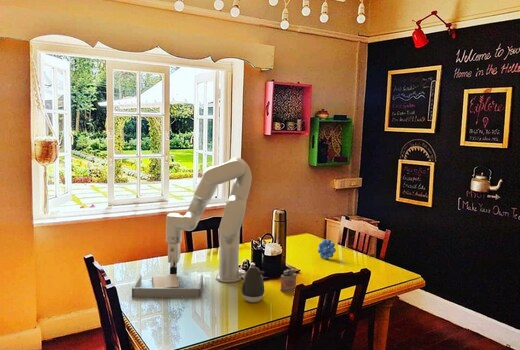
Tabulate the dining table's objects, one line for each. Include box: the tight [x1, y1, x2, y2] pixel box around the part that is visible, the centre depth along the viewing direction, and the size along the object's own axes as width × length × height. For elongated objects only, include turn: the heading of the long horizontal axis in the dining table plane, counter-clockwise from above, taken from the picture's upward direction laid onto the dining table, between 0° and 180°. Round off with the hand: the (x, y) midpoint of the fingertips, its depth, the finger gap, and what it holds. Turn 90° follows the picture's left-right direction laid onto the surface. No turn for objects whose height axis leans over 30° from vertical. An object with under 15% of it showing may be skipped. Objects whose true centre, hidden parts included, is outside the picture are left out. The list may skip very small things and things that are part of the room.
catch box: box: [131, 274, 204, 299], centre depth 199 cm, size 30×16×4 cm, turn 93°
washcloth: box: [151, 273, 180, 288], centre depth 205 cm, size 12×18×3 cm, turn 18°
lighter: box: [279, 268, 298, 293], centre depth 203 cm, size 8×3×10 cm, turn 117°
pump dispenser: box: [240, 266, 266, 303], centre depth 191 cm, size 10×10×15 cm
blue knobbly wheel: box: [317, 238, 337, 260], centre depth 249 cm, size 12×7×12 cm, turn 48°
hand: (173, 274), depth 215 cm, fingers closed
